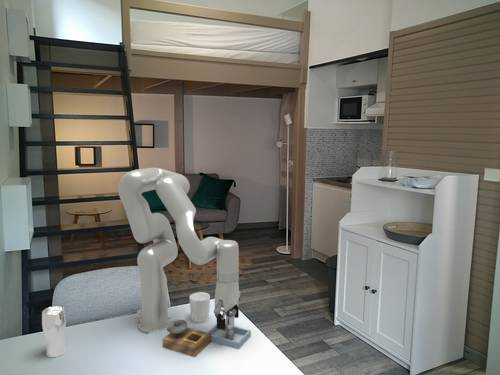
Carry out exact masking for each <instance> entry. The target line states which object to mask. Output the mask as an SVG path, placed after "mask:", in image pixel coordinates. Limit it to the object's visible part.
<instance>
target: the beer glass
mask: <svg viewBox="0 0 500 375" xmlns="http://www.w3.org/2000/svg"><path fill="white" fill-rule="evenodd" d="M41 313H42V314H41V326H42V327H41V328H42V331H43V334H44V338H45V342H46V352H45V356H46V357H47V358H52V359H53V358H57V357H61V356H63V355H64V354H66V352H67V347H66V342H65V336H66V335H65V333H66V327H67V326H66V325H67V320H66V319H67V318H66V313H65V307H64V306H62V305H54V306H49V307H46V308H44V310H42V312H41Z"/></svg>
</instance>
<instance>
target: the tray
mask: <svg viewBox="0 0 500 375" xmlns="http://www.w3.org/2000/svg"><path fill="white" fill-rule="evenodd" d="M219 330H220V329H218V328H217V323H215V325H214V326H213V327H211V328H210V329H209V330H207V332H206V333H209V334H211V343H215V344H218V345H221V346H226V347H230V348H233V349H237V350H240V349H241V347H243V345H244V344H246V342H247V341H248V340H249V338H251V337H252V336H251V335H252V330H250V329H246V328H242V327H238V326H235V325H234V334H236V335H241V336H242V337H241V338H240V339H239V340H238V341H236V340H234V339H233V340H229V339H225V337H221V336H217V335H214V334H215V333H217V332H218V331H219ZM223 331H225V330H223Z"/></svg>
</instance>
